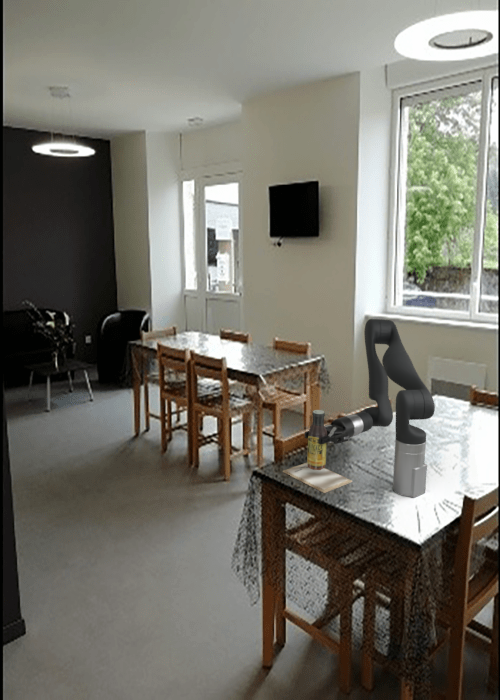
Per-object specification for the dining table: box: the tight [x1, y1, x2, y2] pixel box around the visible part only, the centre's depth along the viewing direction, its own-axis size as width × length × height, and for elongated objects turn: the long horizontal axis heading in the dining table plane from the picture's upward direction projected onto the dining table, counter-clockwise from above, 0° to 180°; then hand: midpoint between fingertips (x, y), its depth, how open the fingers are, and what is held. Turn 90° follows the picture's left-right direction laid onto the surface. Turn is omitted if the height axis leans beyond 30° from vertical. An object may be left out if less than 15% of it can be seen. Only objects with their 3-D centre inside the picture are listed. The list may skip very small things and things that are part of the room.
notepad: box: [282, 461, 353, 494], centre depth 189 cm, size 20×13×1 cm, turn 38°
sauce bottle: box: [306, 409, 328, 470], centre depth 186 cm, size 6×6×20 cm
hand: (312, 438), depth 184 cm, fingers closed on sauce bottle, 6 cm apart
